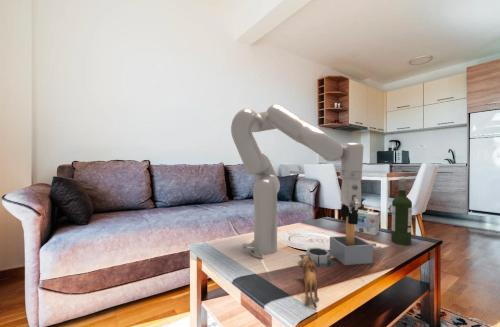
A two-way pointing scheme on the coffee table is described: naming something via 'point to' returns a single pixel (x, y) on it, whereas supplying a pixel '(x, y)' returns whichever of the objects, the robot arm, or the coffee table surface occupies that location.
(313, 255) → the socket plate
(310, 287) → the lion figurine
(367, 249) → the bin
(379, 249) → the adjustable wrench
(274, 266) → the coffee table surface
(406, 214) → the wine bottle
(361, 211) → the light bulb box
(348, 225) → the strut
